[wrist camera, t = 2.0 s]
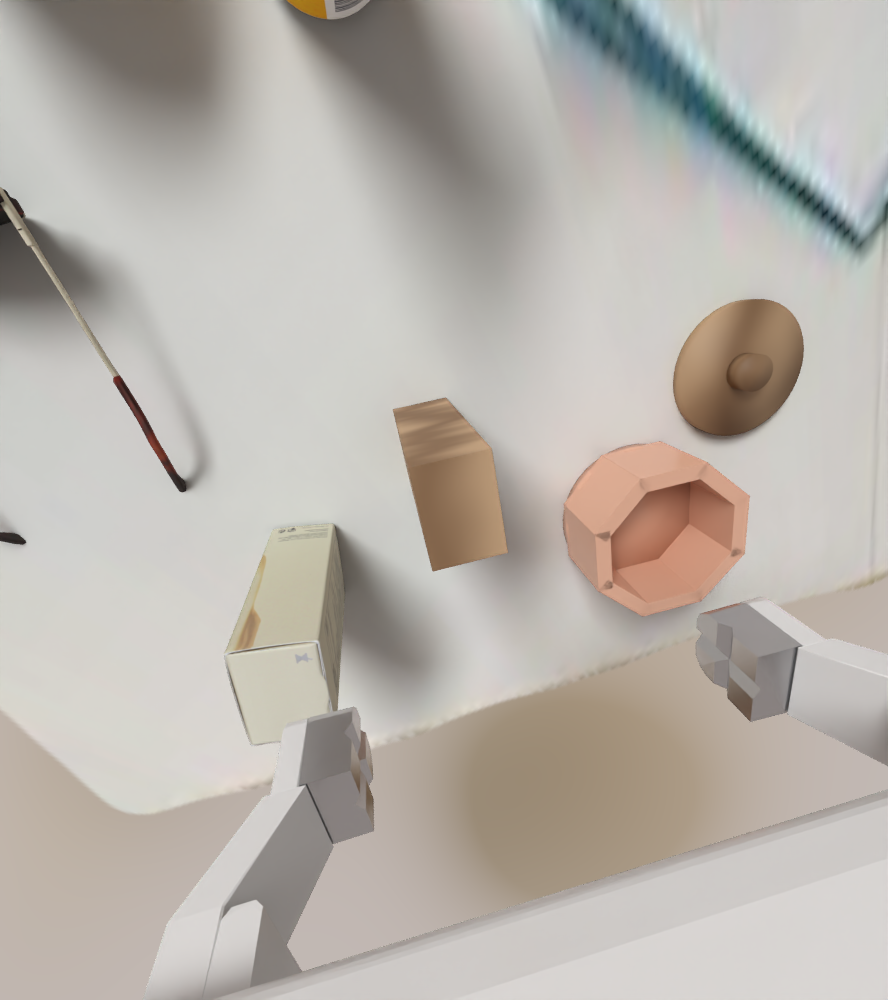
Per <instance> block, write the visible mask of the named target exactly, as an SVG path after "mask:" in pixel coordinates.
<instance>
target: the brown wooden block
mask: <svg viewBox="0 0 888 1000" xmlns="http://www.w3.org/2000/svg"><path fill="white" fill-rule="evenodd" d="M393 412H394V416H395V420H396V425H397V429H398V433H399V437H400V442H401V446H402V450H403V454H404V458H405V463H406V467H407V471H408V475H409V479H410V483H411V487H412V491H413V495H414V499H415V503H416V507H417V511H418V515H419V519H420V523H421V527H422V531H423V535H424V539H425V543H426V547H427V551H428V555H429V559H430V563H431V567H432V571H437V570H441V569H445V568H449V567H453V566H457V565H461V564H465V563H469V562H473V561H477V560H481V559H485V558H489V557H493V556H497V555H501V554H505V553H508V551H507V544H506V538H505V531H504V525H503V518H502V512H501V505H500V499H499V492H498V486H497V479H496V473H495V466H494V460H493V453H492V448H491V447H490V446H489V445H488V444H487V443H486V442H485V441H484V439H483V438H482V437H481V436H480V435H479V434H478V433H477V432H476V431H475V429H474V428H473V427H472V426H471V425H470V424H469V423H468V422H467V421H466V420H465V418H464V417H463V416H462V415H461V414H460V413H459V412H458V411H457V410H456V408H455V407H454V406H453V405H452V404H451V403H450V402H449V401H448V400H447V398H442V399H437V400H433V401H428V402H424V403H420V404H415V405H411V406H406V407H402V408H397V409H393Z"/></svg>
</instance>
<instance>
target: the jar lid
mask: <svg viewBox="0 0 888 1000" xmlns="http://www.w3.org/2000/svg"><path fill="white" fill-rule="evenodd" d="M803 352H804V345H803V336H802V332H801V329H800V326H799V324H798V322H797V320H796V318H795V317H794V316H793V314H792V313H791V312H790V311H789V310H788V309H787V308H786V307H784V306H782V305H781V304H779V303H776V302H774V301H770V300H765V299H750V300H740V301H736V302H732V303H729V304H727V305H725V306H722V307H720V308H719V309H717V310H715V311H714V312H712V313H711V314H710V315H708V316H707V317H706V318H705V319H704V320H703V321H702V322H700V323H699V324H698V326H697V327H696V328H695V329H694V330H693V331H692V333H691V334H690V336H689V337H688V339H687V340H686V342H685V344H684V346H683V347H682V349H681V352H680V354H679V356H678V359H677V363H676V366H675V371H674V379H673V391H674V397H675V401H676V404H677V407H678V409H679V411H680V413H681V414H682V416H683V417H684V419H685V420H686V421H687V422H688V423H689V424H691V425H692V426H694V427H695V428H697V429H700V430H702V431H705V432H708V433H711V434H714V435H721V436H731V435H737V434H741V433H744V432H747V431H749V430H751V429H753V428H755V427H757V426H759V425H760V424H762V423H763V422H765V421H766V420H767V419H769V418H770V417H771V416H772V415H773V414H774V413H775V412H776V411H777V410H778V409H779V408H780V407H781V406H782V404H783V403H784V402H785V400H786V399H787V398H788V396H789V395H790V393H791V391H792V389H793V387H794V386H795V384H796V381H797V379H798V376H799V373H800V370H801V366H802V361H803Z"/></svg>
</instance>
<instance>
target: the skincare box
mask: <svg viewBox="0 0 888 1000" xmlns="http://www.w3.org/2000/svg"><path fill="white" fill-rule="evenodd" d="M344 599H345V590H344V581H343V573H342V566H341V559H340V553H339V547H338V541H337V536H336V531H335V526H334V524H321V525H307V526H296V527H288V528H280V529H274V530H273V531H272V532H271V535H270V538H269V540H268V543H267V546H266V548H265V551H264V554H263V556H262V559H261V561H260V564H259V567H258V569H257V572H256V574H255V577H254V579H253V582H252V585H251V587H250V590H249V592H248V595H247V598H246V600H245V603H244V605H243V608H242V610H241V613H240V616H239V618H238V621H237V623H236V626H235V628H234V631H233V634H232V636H231V639H230V641H229V644H228V646H227V648H226V651H225V653H224V659H225V664H226V668H227V673H228V677H229V681H230V685H231V688H232V691H233V694H234V698H235V701H236V704H237V707H238V711H239V714H240V717H241V720H242V723H243V726H244V728H245V731H246V734H247V737H248V739H249V742H250V745H251V746H257V745H263V744H270V743H278V742H281V738H282V733H283V729H284V728H285V726H286V724H287V723H290V722H294V721H299V720H303V719H307V718H310V717H313V716H317V715H321V714H326V713H330V712H334V711H337V709H338V693H339V677H340V661H341V646H342V630H343V615H344Z"/></svg>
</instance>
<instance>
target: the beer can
mask: <svg viewBox="0 0 888 1000" xmlns="http://www.w3.org/2000/svg"><path fill="white" fill-rule="evenodd" d="M287 1H288V2H289V3H290V4H291V5H293V6H294V7H295V8H297V9H299V10H300V11H302V12H304V13H306V14H308V15H310V16H313V17H317V18H321V19H340V18H344V17H347V16H350V15H352V14H354V13H356V12H357V11H359V10H360V9H362V8H363V7H364V6H365V5H366V4H367V3H368V2H369V1H370V0H287Z"/></svg>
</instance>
